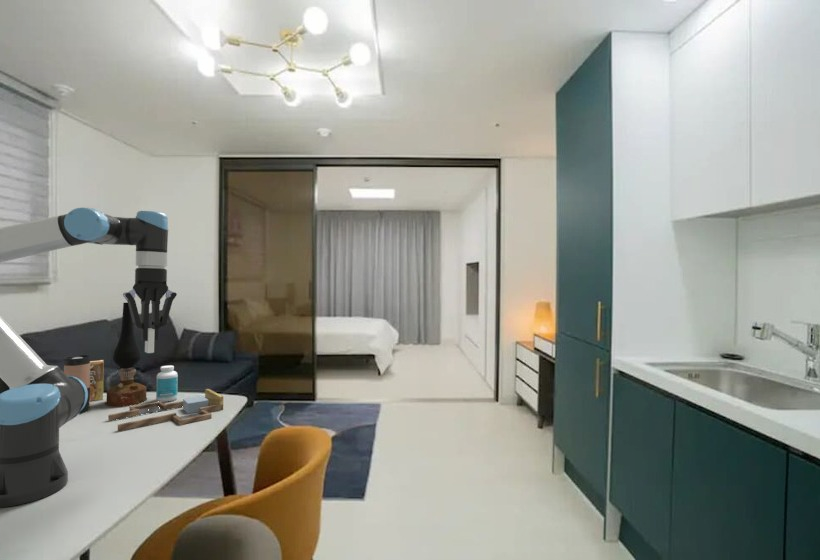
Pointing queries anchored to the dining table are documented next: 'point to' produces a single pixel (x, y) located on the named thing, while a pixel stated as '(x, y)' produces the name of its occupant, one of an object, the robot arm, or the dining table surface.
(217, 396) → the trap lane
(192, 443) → the dining table surface
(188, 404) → the slate block
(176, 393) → the pill bottle
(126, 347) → the oil lamp
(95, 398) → the candy box
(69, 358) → the travel mug
